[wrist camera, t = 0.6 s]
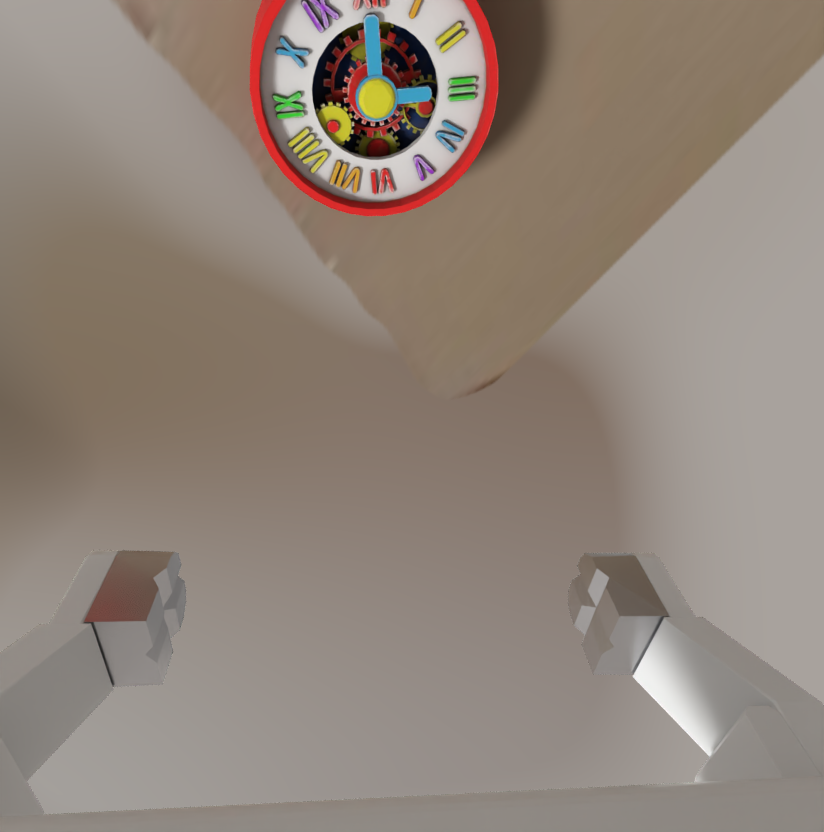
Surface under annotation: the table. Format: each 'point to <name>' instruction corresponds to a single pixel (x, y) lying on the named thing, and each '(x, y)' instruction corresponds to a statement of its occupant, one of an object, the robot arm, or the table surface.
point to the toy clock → (373, 97)
